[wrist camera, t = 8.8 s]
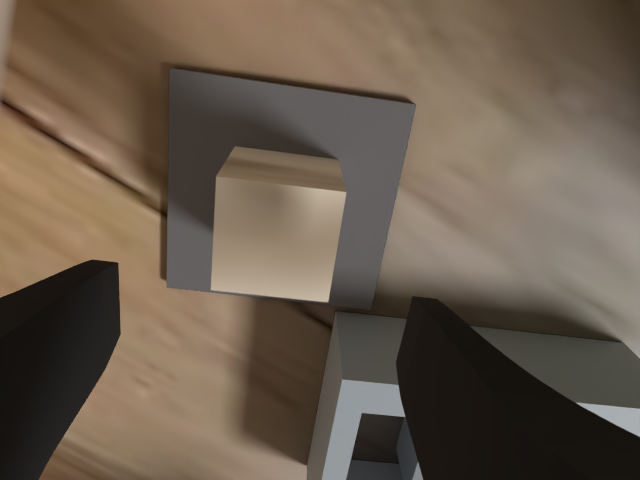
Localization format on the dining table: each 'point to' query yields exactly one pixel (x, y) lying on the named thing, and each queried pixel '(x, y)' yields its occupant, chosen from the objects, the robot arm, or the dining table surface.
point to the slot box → (384, 398)
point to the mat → (289, 137)
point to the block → (277, 224)
